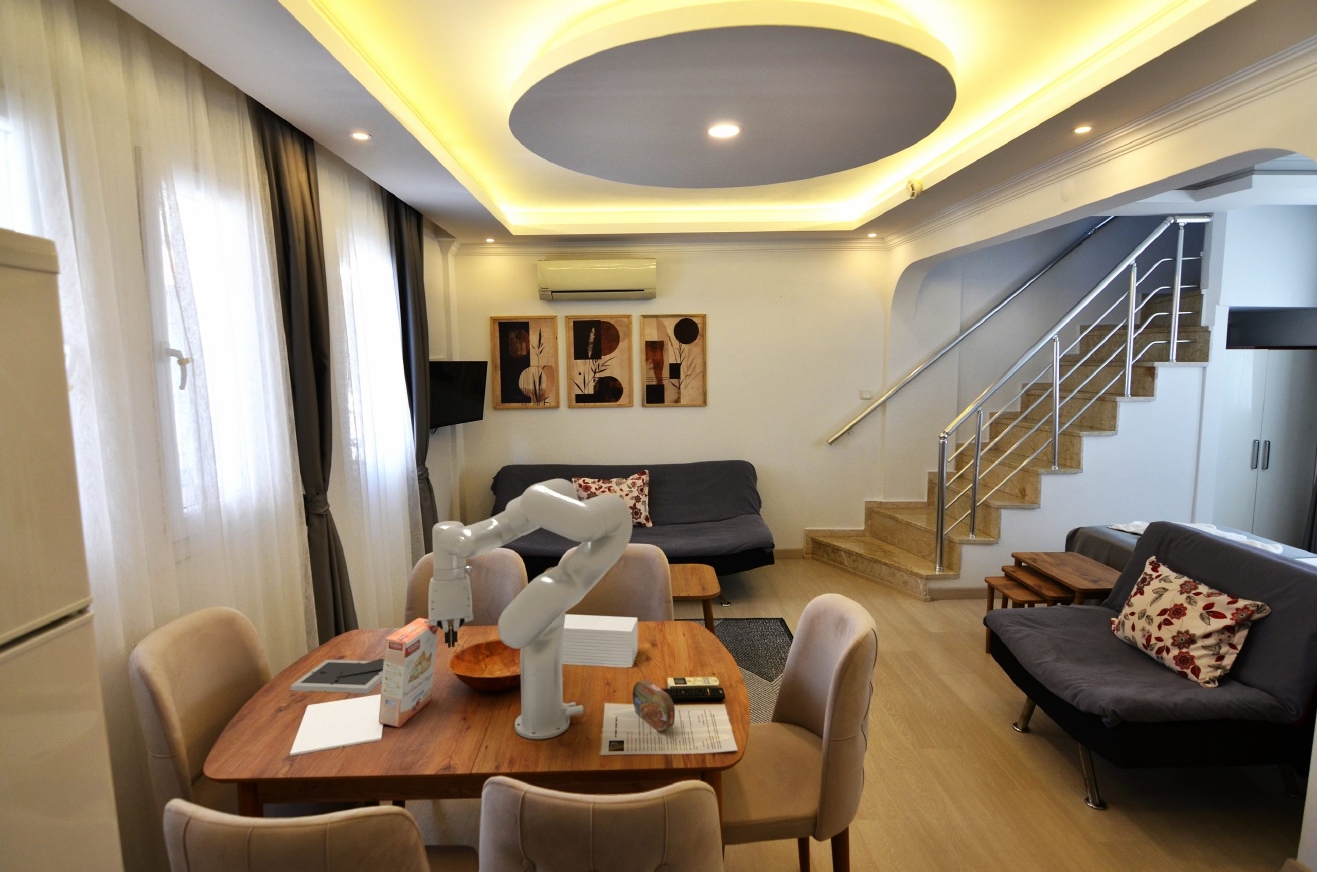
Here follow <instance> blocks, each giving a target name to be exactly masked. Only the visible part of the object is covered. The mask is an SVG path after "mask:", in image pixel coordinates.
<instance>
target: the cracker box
mask: <svg viewBox="0 0 1317 872" xmlns="http://www.w3.org/2000/svg"><path fill="white" fill-rule="evenodd" d="M438 631H439V627H438V626H434V625H428V618H423V617H418V618H416V619H415V620H413V621H411V622H410V623H409V624H407V625H405V626H403V627H402V628H400V629H398V630H397V631H395V632H393V633H392V634H391V635H389V636H387V637H385V643H384V654H383V655H384V656H383V659H384V664H383V676H382V681H381V688H380V694H381V699H380V712H379V723H383V725H388V726H391V727H394V728H395V727H396V728H400V727H402V725H404V723H406V722H407V721H408V720H410V719H411V718H412V717H413V716H414V715H415V714H416V713H418V712H419V711H420V710H421V709H423V707H425V706H426V705H427V704H428V703H429V702H430V701H432V693H433V682H434V674H435V673H434V670H435V662H436V653H437V641H438Z"/></svg>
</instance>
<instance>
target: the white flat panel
mask: <svg viewBox="0 0 1317 872" xmlns="http://www.w3.org/2000/svg"><path fill="white" fill-rule="evenodd" d="M380 699H381V693H380V694H374V695H367V696H366V695H365V696H361V697H354V698H348V699H347V698H346V699H341V700H334V701H327V702H320V703H314V704H308V705H307V707H306V708H305V713H304V715H303V717H302V720H301V723H300V726H299V728H298V731H297V733H296V736H295V739H294V742H293V744H292V747H291V750H290V752H289V756H290V757H291V756H297V755H302V754H303V755H304V754H308V753H313V752H314V753H315V752H321V751H325V750H326V751H327V750H332V749H336V748H337V747H338V748H342V747H343V746H344V747H347V746H348V747H350V746H353V745H354V746H355V745H360V744H367V743H373V742H377V741H381V740H382V739H383V738H382V737H383V731H384V730H383V729H384V724H383V723H379V712H380Z"/></svg>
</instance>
